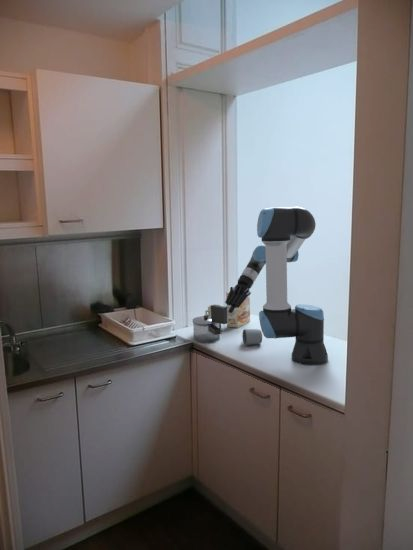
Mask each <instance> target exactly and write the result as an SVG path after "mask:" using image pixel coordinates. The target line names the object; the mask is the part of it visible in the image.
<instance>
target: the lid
mask: <svg viewBox="0 0 413 550" xmlns="http://www.w3.org/2000/svg"><path fill="white" fill-rule="evenodd" d="M210 305H211V316H208V314H207V315H205V314H204V315H201V316H196V317H194V318H192V320H191V321H192V324H193V323H194V324H197V325H212V324H216V323H220V324H221V325H227V307H226V306H224V305H221V306H218V305H219V304H210Z"/></svg>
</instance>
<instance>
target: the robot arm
mask: <svg viewBox="0 0 413 550" xmlns="http://www.w3.org/2000/svg"><path fill="white" fill-rule="evenodd" d="M316 224H317V223H316V219H315V217H314V216H313V214H312V213H311V212H310V211H309V210H307V208H303V207H300V206H293V207H292V206H291V207H289V206H287V207H267V208H263V209H262V210H260V212H259V214H258V219H257V224H256V232H257V233H256V234H257V237H258V238H261V242H262V244H260V245H257V246H256V247H255V249H254V250H253V252H252V255H251V257H250V259H249V260H248V261H249V262H248V263H247V265H246V266H245V268H244V269H243V271H241V275H240V276H239V278H238V279H237V284H235V286H234V287H233V286H231V287H230V289H229V291H230V292H229V294H228V297H227V299H226V298H225V299H226V300H225V301H224V303H225V304H226V305H225V307H227V319H228V317H229V316H230V314H231V313H232V312H233V310H234V308H236V307H237V308H239V307H240V305H241V304H242V303H243V302H244V300H245V299H246V298H247V296H249V295H250V296H251V294H252V292H251V291H249V290H250V289H251V288H252V287H253V286H254V284H255V282H256V280H257V278H258V277H259V275H260V273H261V271H262V269H263V268H264V266H265V279H266V280H265V283H266V285H265V287H266V288H265V289H266V291H265V292H266V302H265V304H264V305H263V306H262V310H260V311H259V313H258V318H259V319H258V320H259V324H260V330H261V333H262V336H264V337H265V338H266V339H275V340H276V339H283V338H284V339H285V338H295V342H294V345H293V349H292V352H291V361H293V362H294V363H295V364H299V365H304V366H318V365H319V366H320V365H323V364H325V363H327V362H328V361H329V359H328V357H329V356H328V352H327V349H326V346H325V343H324V341H325V340H324V327H325V325H324V324H325V318H324V310H323V309H322V307H321V308H320V307H319V306H315V305H311V304H304V303H303V304H296V305H295V306H294V308H293V309H292V305H291V304H290V303H289V302H288V267H287V266H288V263H294V262H297V261H298V260H299V249H300V248H301V247H302V245H303V243H304V242H305V241H306V239H309V238H310V237H311V236H312V235H313V233H315V230H316Z"/></svg>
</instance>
